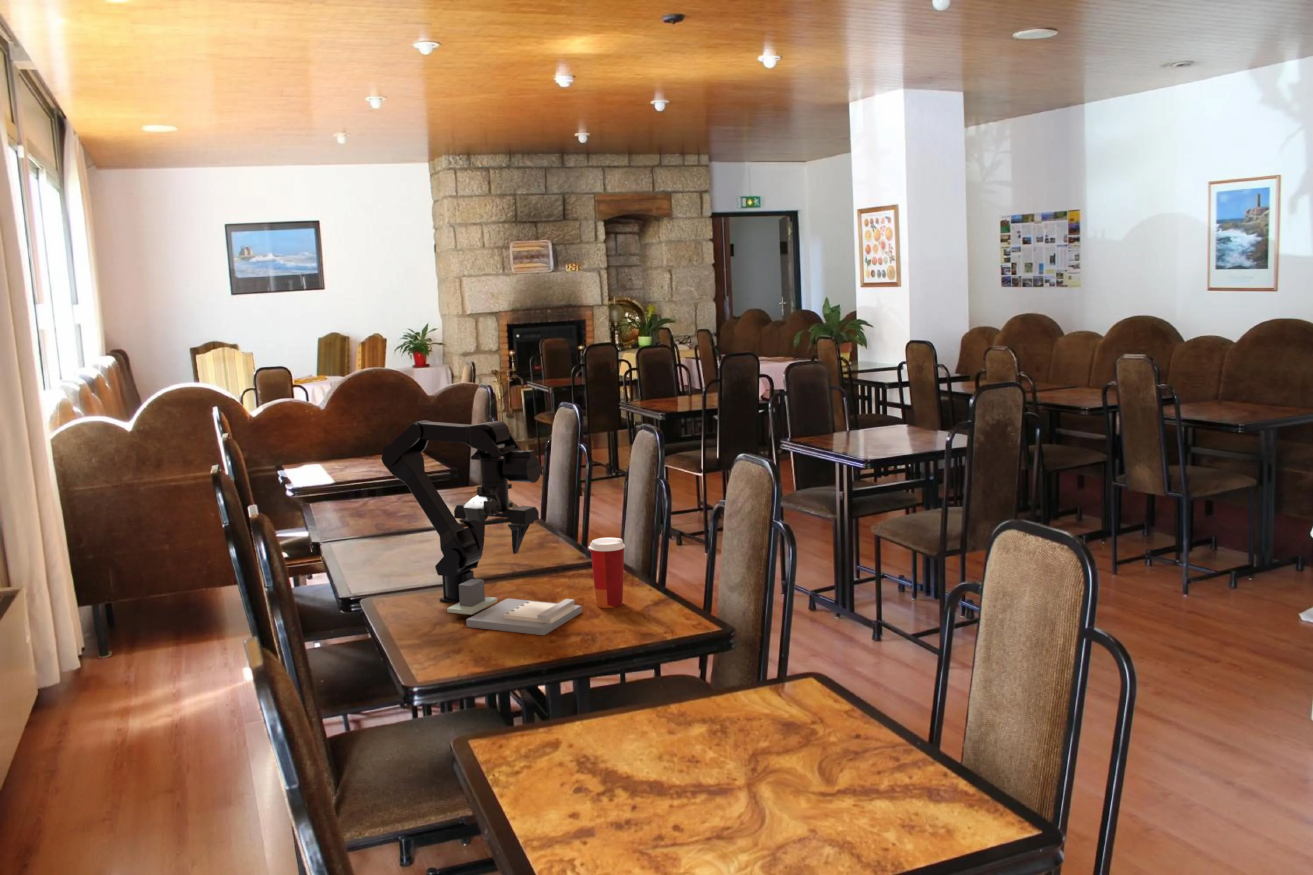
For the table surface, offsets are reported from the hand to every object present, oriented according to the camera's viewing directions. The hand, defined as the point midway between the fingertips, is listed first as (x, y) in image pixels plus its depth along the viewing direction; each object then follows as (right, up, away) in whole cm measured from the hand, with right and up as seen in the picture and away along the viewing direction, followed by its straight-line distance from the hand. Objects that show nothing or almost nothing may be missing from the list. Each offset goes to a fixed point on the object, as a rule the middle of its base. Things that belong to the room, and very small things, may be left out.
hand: (498, 551), depth 239 cm
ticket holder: (+7, -13, -11) cm, 18 cm away
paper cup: (+24, -11, -2) cm, 27 cm away
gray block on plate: (-4, -11, -6) cm, 13 cm away
